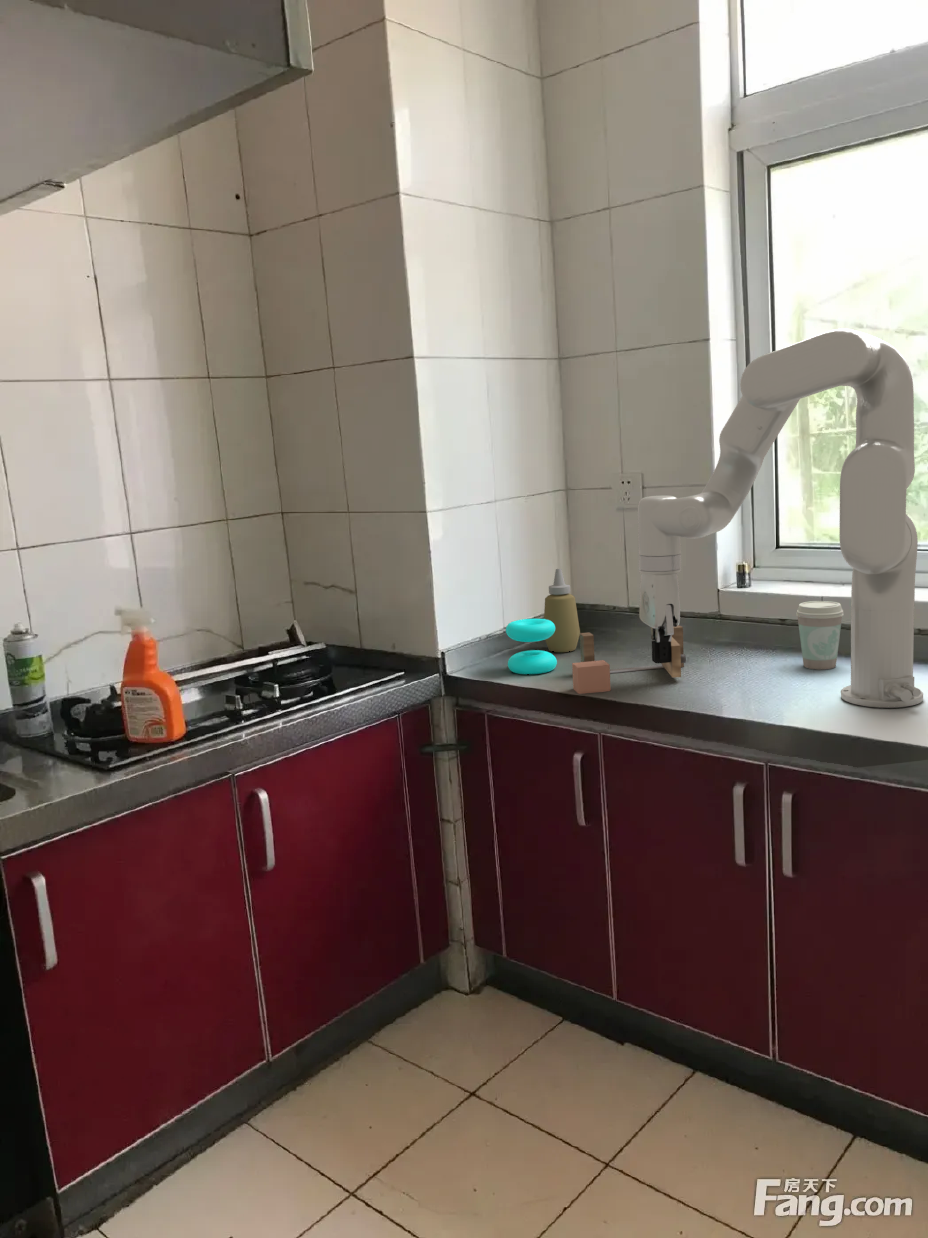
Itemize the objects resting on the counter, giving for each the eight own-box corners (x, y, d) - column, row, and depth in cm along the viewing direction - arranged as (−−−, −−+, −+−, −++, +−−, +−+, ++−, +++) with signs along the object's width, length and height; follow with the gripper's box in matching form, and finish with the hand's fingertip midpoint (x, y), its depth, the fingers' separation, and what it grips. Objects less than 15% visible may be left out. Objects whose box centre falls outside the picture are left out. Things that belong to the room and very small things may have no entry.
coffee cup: (798, 671, 187) (797, 608, 185) (794, 661, 195) (794, 601, 193) (846, 671, 185) (846, 607, 183) (840, 661, 193) (840, 599, 191)
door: (674, 662, 196) (674, 632, 195) (687, 676, 184) (686, 645, 183) (660, 662, 197) (659, 633, 195) (672, 677, 184) (671, 646, 183)
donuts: (539, 627, 193) (495, 625, 199) (541, 677, 195) (498, 673, 201) (563, 618, 201) (521, 616, 207) (566, 666, 203) (524, 663, 209)
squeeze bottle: (538, 649, 222) (534, 569, 218) (571, 644, 224) (568, 565, 221) (552, 655, 214) (548, 572, 211) (586, 651, 216) (583, 569, 213)
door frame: (683, 666, 196) (682, 627, 195) (585, 676, 194) (583, 636, 192) (678, 663, 199) (677, 624, 198) (581, 673, 197) (579, 633, 195)
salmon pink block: (610, 691, 182) (609, 664, 181) (578, 694, 181) (577, 667, 180) (604, 686, 186) (603, 660, 185) (573, 689, 185) (572, 663, 184)
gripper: (628, 560, 188) (630, 655, 192) (653, 570, 174) (654, 672, 177) (666, 558, 189) (668, 652, 193) (694, 567, 175) (695, 669, 178)
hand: (661, 661), depth 185 cm, fingers closed
